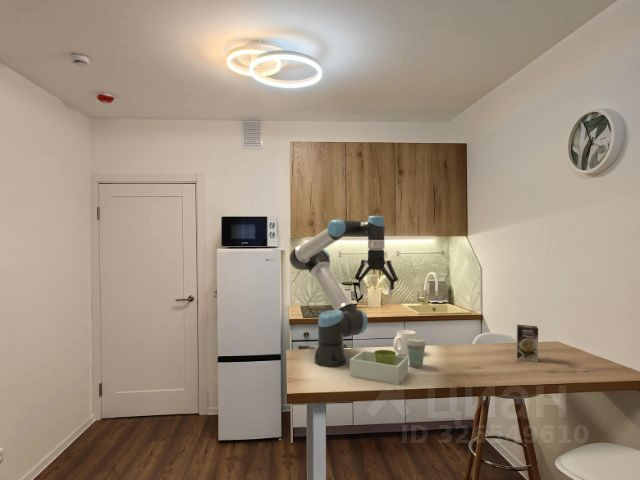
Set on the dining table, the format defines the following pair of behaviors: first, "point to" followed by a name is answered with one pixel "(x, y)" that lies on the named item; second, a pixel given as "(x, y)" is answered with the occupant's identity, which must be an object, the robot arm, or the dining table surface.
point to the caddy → (378, 368)
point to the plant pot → (385, 356)
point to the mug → (403, 341)
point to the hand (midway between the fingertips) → (375, 295)
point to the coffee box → (527, 343)
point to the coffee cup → (416, 352)
